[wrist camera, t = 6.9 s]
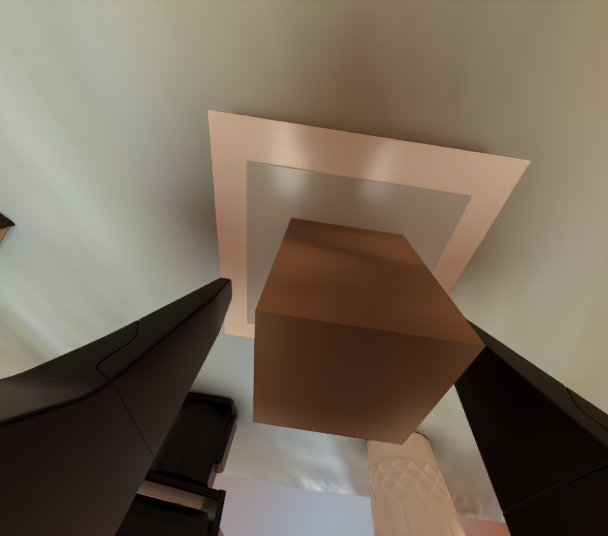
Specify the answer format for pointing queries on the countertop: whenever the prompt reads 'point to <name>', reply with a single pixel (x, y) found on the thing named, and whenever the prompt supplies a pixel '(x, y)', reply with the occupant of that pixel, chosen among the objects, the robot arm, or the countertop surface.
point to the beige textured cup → (409, 491)
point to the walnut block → (354, 335)
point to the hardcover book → (4, 225)
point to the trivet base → (344, 197)
